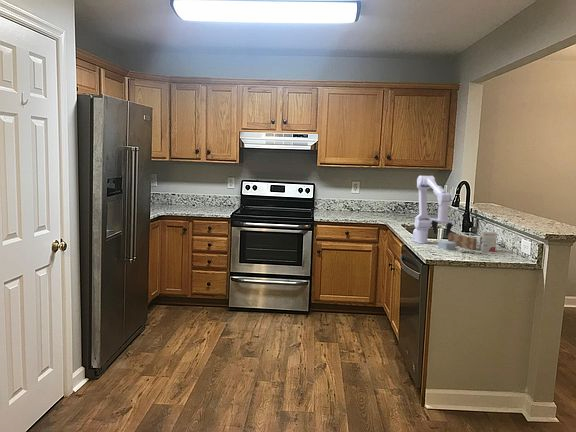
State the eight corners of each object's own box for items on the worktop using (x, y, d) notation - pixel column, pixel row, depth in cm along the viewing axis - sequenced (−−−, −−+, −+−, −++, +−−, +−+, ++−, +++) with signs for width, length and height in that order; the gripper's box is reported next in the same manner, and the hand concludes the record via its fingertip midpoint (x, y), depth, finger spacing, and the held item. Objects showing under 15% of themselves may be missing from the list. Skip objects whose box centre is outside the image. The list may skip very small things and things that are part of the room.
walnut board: (447, 243, 312) (448, 233, 311) (451, 243, 314) (451, 233, 313) (472, 250, 295) (473, 238, 294) (475, 249, 296) (476, 238, 296)
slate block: (437, 247, 300) (438, 241, 299) (447, 247, 303) (447, 240, 303) (446, 250, 293) (446, 243, 293) (455, 249, 297) (456, 242, 297)
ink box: (492, 249, 298) (493, 231, 297) (495, 251, 293) (497, 232, 292) (478, 249, 298) (480, 230, 296) (481, 251, 293) (483, 232, 291)
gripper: (428, 211, 291) (427, 233, 293) (452, 214, 281) (450, 237, 283) (433, 210, 296) (431, 232, 298) (456, 213, 287) (454, 235, 289)
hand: (441, 234), depth 291 cm, fingers open, 7 cm apart
